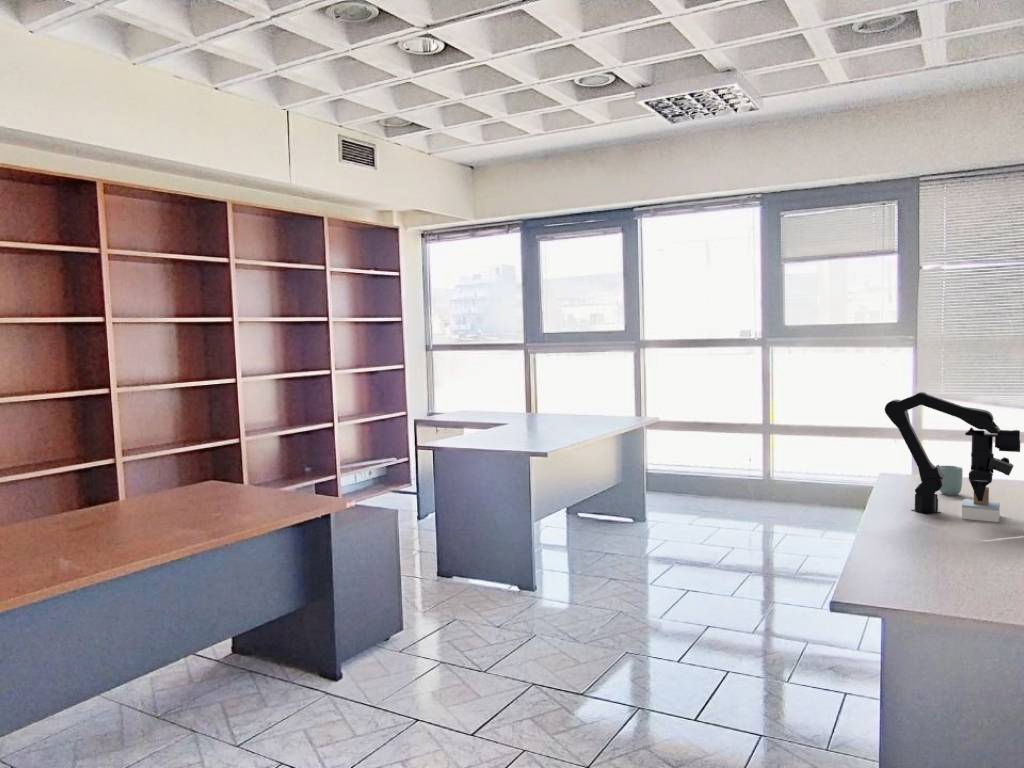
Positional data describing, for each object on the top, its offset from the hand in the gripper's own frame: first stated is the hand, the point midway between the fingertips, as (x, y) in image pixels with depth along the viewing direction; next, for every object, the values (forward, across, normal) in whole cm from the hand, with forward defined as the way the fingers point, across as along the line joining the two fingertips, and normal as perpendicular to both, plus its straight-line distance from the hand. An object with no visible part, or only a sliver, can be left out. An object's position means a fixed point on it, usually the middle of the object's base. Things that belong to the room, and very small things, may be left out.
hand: (980, 498), depth 250 cm
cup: (+7, +36, +11) cm, 38 cm away
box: (+6, 0, 0) cm, 7 cm away
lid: (+2, 0, 0) cm, 3 cm away
